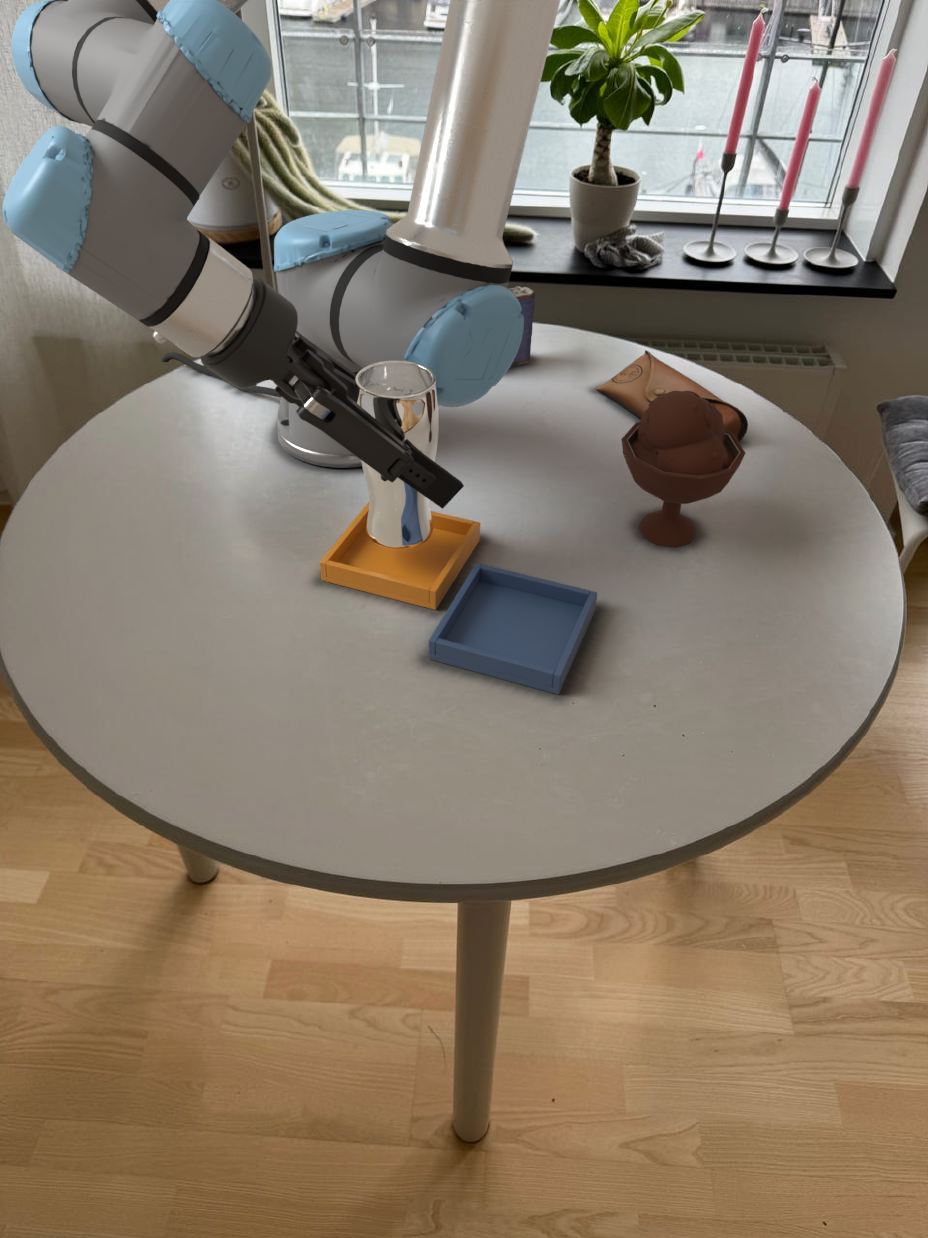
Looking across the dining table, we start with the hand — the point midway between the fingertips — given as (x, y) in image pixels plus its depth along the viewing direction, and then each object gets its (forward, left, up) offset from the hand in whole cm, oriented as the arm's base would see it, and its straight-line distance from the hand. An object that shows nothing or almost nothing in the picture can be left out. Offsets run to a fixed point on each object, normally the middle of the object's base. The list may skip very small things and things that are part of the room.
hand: (436, 471), depth 85 cm
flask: (-8, +39, -9) cm, 41 cm away
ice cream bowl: (+19, +12, -9) cm, 24 cm away
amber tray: (-3, -2, -9) cm, 10 cm away
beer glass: (-3, -2, -6) cm, 7 cm away
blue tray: (+10, -8, -9) cm, 16 cm away
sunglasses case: (+15, +35, -9) cm, 38 cm away
